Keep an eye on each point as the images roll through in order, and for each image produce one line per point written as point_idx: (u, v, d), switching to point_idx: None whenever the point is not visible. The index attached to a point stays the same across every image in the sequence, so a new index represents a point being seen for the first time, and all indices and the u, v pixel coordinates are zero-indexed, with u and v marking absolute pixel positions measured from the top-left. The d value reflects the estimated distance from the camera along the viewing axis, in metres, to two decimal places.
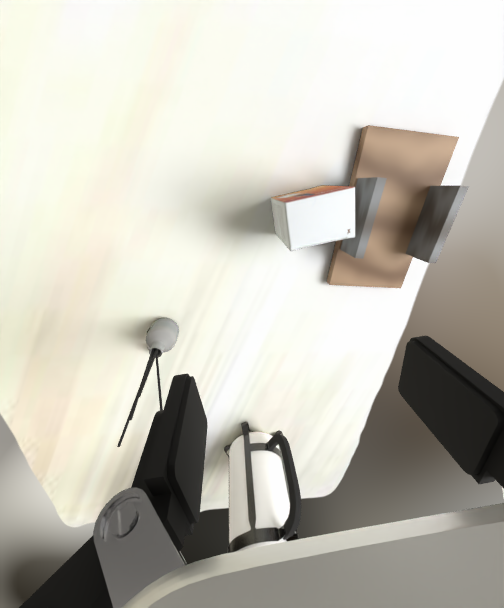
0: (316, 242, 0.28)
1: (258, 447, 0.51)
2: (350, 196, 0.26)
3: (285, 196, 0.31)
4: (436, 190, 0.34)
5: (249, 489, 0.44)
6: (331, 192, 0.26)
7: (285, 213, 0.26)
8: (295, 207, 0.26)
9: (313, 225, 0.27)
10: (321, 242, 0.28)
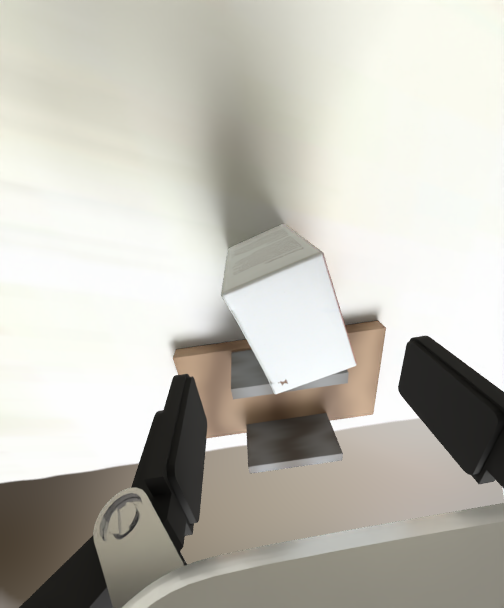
0: (251, 338, 0.13)
1: None
2: (341, 364, 0.15)
3: None
4: (325, 424, 0.28)
5: None
6: (346, 333, 0.14)
7: (299, 259, 0.12)
8: (315, 277, 0.12)
9: (285, 322, 0.13)
10: (254, 347, 0.14)
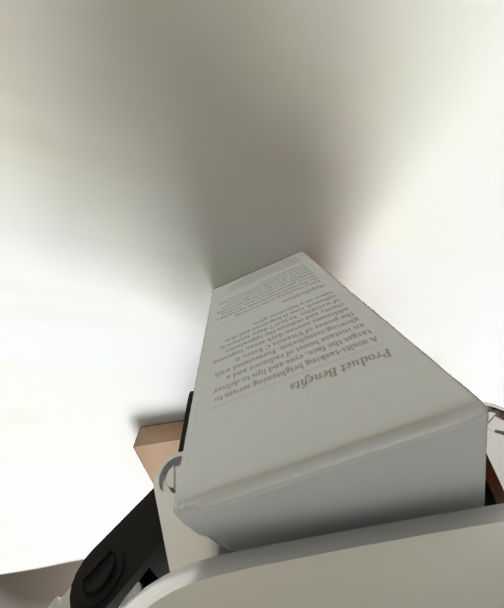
0: None
1: None
2: None
3: None
4: None
5: None
6: None
7: (403, 417, 0.04)
8: (450, 465, 0.04)
9: None
10: None
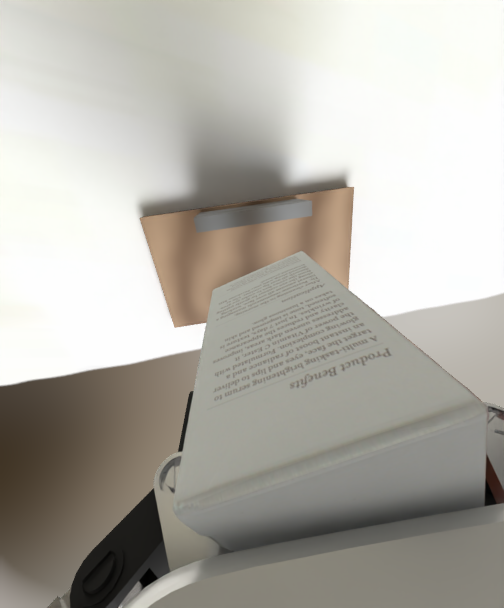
0: None
1: None
2: None
3: None
4: None
5: None
6: None
7: (403, 416, 0.04)
8: (450, 465, 0.04)
9: None
10: None
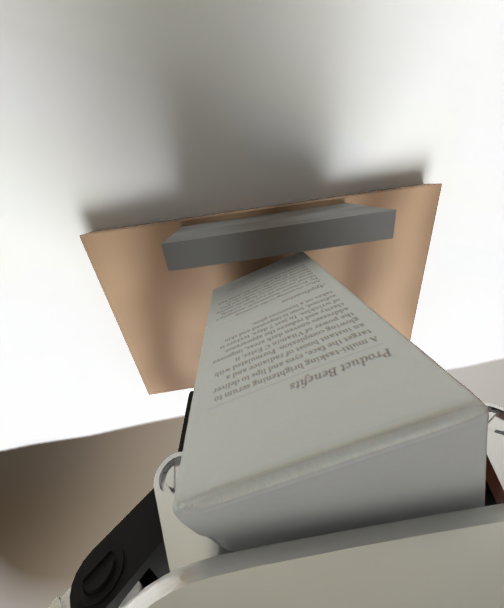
0: None
1: None
2: None
3: None
4: None
5: None
6: None
7: (403, 417, 0.04)
8: (450, 465, 0.04)
9: None
10: None
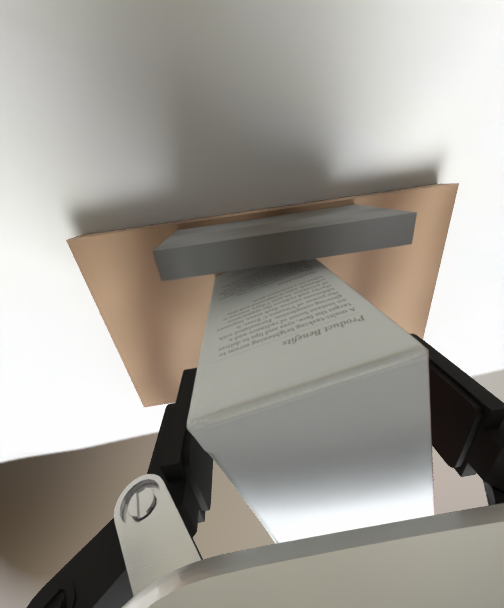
0: (249, 493, 0.07)
1: None
2: None
3: None
4: None
5: None
6: (432, 479, 0.07)
7: (367, 358, 0.05)
8: (401, 398, 0.05)
9: (321, 471, 0.06)
10: (253, 504, 0.07)
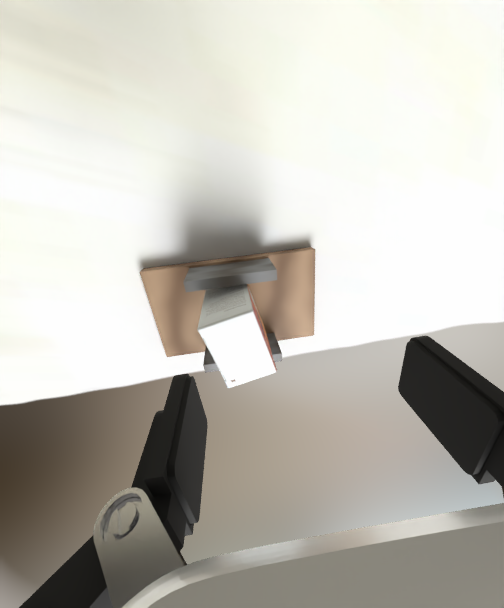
0: (214, 354, 0.23)
1: None
2: (267, 371, 0.25)
3: (251, 296, 0.28)
4: (271, 338, 0.34)
5: None
6: (269, 353, 0.24)
7: (241, 312, 0.22)
8: (249, 322, 0.22)
9: (233, 345, 0.23)
10: (215, 359, 0.23)
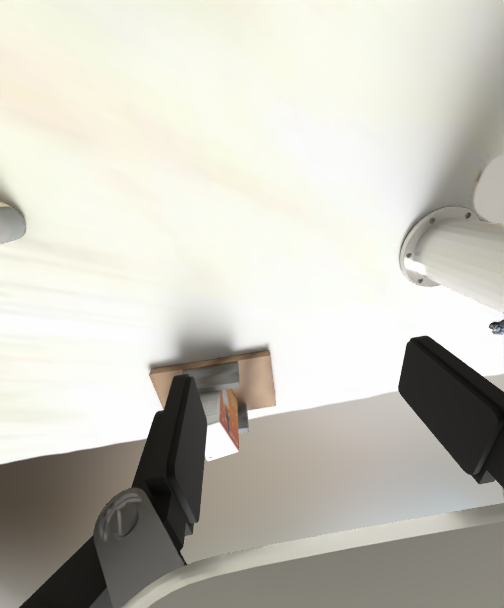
0: None
1: None
2: (232, 451, 0.38)
3: (224, 395, 0.41)
4: (243, 411, 0.47)
5: None
6: (232, 441, 0.37)
7: (212, 422, 0.35)
8: (217, 427, 0.35)
9: (208, 439, 0.36)
10: None
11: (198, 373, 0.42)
